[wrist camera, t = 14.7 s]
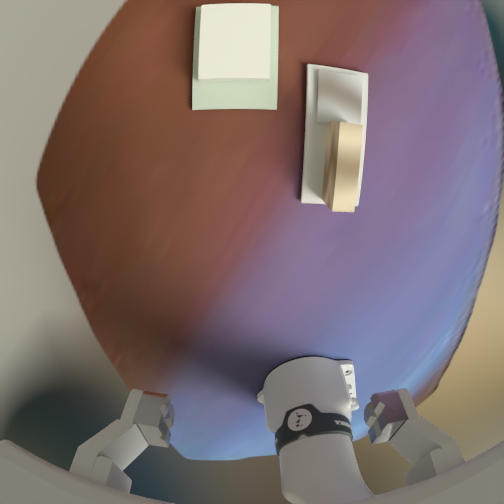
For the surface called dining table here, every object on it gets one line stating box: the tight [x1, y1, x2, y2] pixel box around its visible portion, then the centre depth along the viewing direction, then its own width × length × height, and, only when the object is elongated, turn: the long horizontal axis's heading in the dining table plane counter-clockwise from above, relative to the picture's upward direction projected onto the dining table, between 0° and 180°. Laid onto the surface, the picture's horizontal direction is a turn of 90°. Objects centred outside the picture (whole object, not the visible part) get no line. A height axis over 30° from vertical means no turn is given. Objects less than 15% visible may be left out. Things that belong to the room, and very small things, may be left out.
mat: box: [192, 6, 279, 110], centre depth 24 cm, size 13×9×1 cm
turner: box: [316, 70, 363, 212], centre depth 26 cm, size 15×5×4 cm, turn 179°
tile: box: [198, 3, 271, 82], centre depth 22 cm, size 2×7×9 cm
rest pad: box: [301, 64, 368, 206], centre depth 28 cm, size 16×7×1 cm, turn 179°
